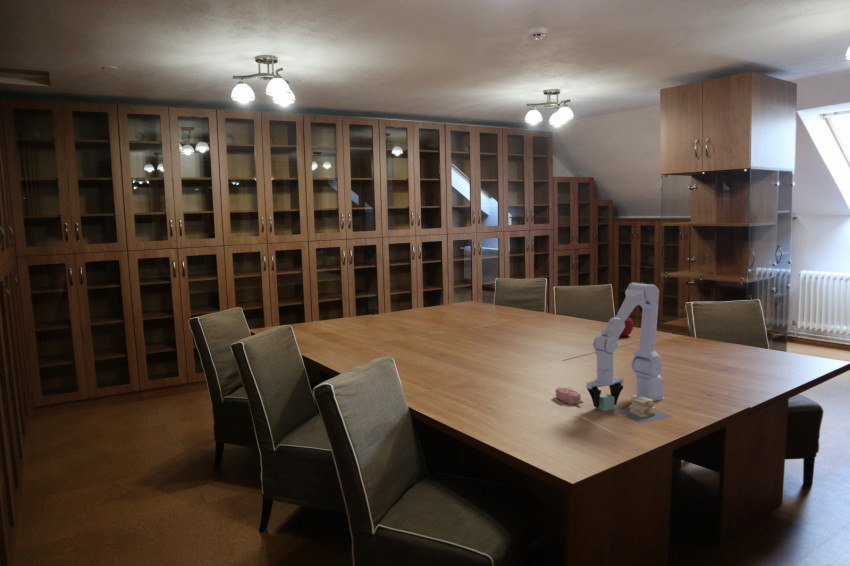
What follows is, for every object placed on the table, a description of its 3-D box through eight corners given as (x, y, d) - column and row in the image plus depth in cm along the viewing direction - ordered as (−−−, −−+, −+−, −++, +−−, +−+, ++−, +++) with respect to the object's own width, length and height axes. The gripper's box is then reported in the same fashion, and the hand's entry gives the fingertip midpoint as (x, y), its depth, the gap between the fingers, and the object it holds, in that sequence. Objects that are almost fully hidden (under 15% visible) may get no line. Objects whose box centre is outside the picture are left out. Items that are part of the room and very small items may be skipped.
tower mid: (641, 403, 209) (641, 396, 209) (653, 406, 205) (653, 399, 205) (631, 405, 207) (631, 399, 207) (643, 409, 203) (643, 402, 202)
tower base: (643, 409, 210) (643, 402, 210) (655, 414, 205) (655, 407, 204) (629, 412, 208) (629, 405, 208) (641, 417, 202) (641, 410, 202)
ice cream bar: (574, 398, 215) (552, 387, 228) (574, 409, 215) (552, 397, 229) (589, 395, 217) (565, 384, 230) (589, 406, 217) (566, 395, 231)
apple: (630, 338, 326) (630, 317, 324) (611, 337, 332) (611, 316, 330) (635, 334, 335) (635, 314, 334) (616, 333, 341) (616, 313, 339)
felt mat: (644, 405, 215) (644, 404, 215) (673, 417, 202) (673, 416, 202) (612, 411, 210) (612, 410, 210) (640, 423, 197) (640, 422, 197)
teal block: (606, 406, 216) (606, 393, 215) (614, 410, 212) (614, 396, 211) (596, 408, 214) (596, 395, 214) (603, 412, 210) (603, 398, 209)
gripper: (614, 363, 217) (614, 399, 219) (581, 368, 212) (581, 405, 214) (627, 368, 211) (627, 404, 212) (593, 373, 206) (593, 410, 207)
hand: (605, 405), depth 213 cm, fingers open, 7 cm apart
